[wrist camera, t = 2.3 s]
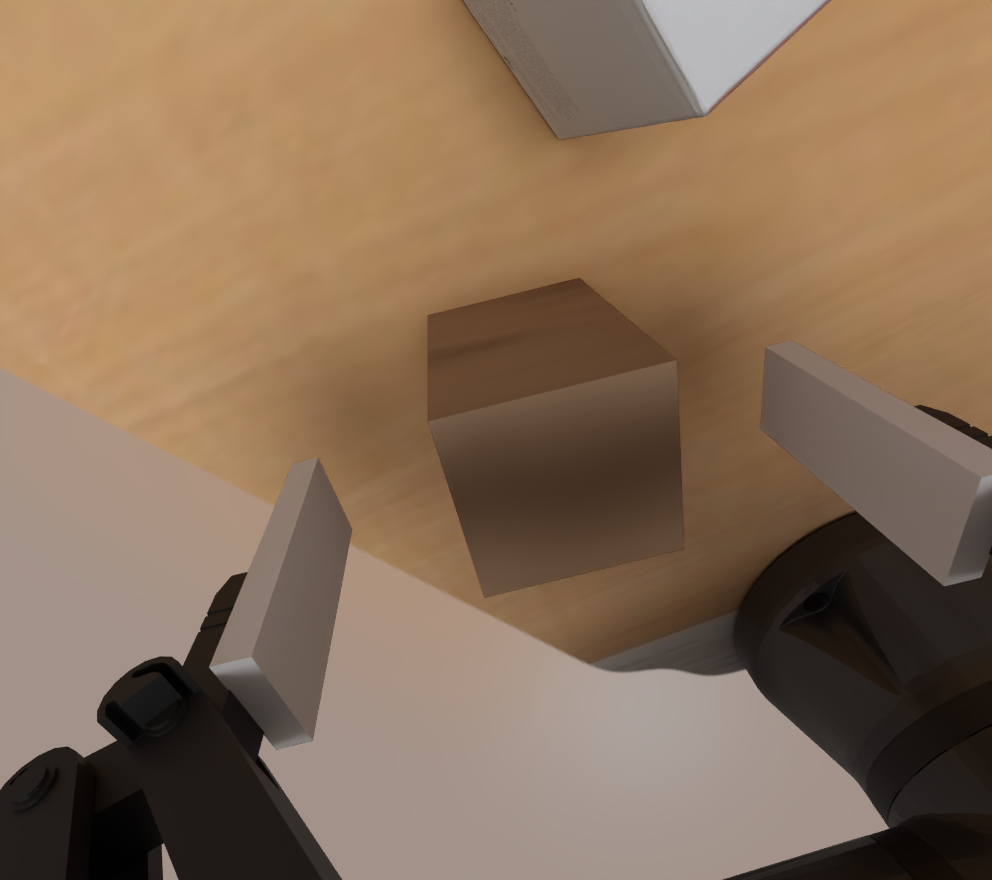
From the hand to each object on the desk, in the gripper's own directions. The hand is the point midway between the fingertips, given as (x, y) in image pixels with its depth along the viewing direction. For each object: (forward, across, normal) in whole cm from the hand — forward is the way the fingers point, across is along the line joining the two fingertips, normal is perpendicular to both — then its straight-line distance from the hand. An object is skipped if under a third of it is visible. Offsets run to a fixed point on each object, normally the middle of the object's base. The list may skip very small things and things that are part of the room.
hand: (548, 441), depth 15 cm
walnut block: (+7, 0, 0) cm, 7 cm away
